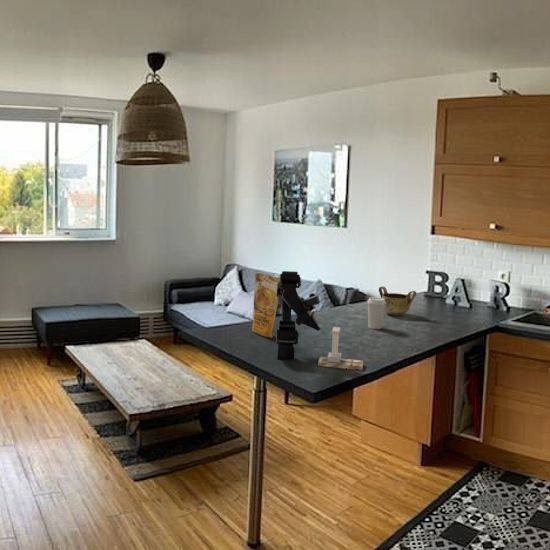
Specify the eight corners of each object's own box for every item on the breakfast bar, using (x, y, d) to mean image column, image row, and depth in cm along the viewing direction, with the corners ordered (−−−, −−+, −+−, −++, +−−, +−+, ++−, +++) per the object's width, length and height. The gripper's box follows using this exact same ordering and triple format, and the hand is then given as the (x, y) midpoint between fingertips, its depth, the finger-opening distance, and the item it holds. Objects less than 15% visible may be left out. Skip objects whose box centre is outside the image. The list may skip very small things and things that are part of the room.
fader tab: (327, 361, 242) (329, 330, 240) (328, 356, 249) (330, 326, 247) (339, 362, 241) (341, 331, 240) (341, 358, 248) (343, 327, 246)
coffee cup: (383, 326, 317) (385, 297, 314) (384, 330, 307) (387, 301, 305) (364, 324, 318) (366, 296, 315) (365, 329, 308) (367, 299, 306)
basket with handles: (419, 315, 347) (422, 289, 344) (406, 320, 333) (408, 293, 331) (384, 309, 360) (386, 284, 358) (370, 313, 347) (372, 287, 345)
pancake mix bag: (258, 328, 299) (260, 272, 295) (281, 337, 284) (284, 278, 280) (246, 330, 295) (249, 272, 291) (269, 339, 280) (272, 278, 276)
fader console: (317, 365, 242) (318, 362, 242) (320, 360, 251) (320, 356, 250) (362, 370, 240) (362, 366, 239) (363, 364, 248) (363, 360, 247)
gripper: (305, 291, 234) (332, 322, 234) (311, 284, 252) (336, 312, 252) (284, 310, 236) (311, 340, 236) (291, 301, 255) (316, 329, 254)
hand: (319, 330), depth 245 cm, fingers closed
